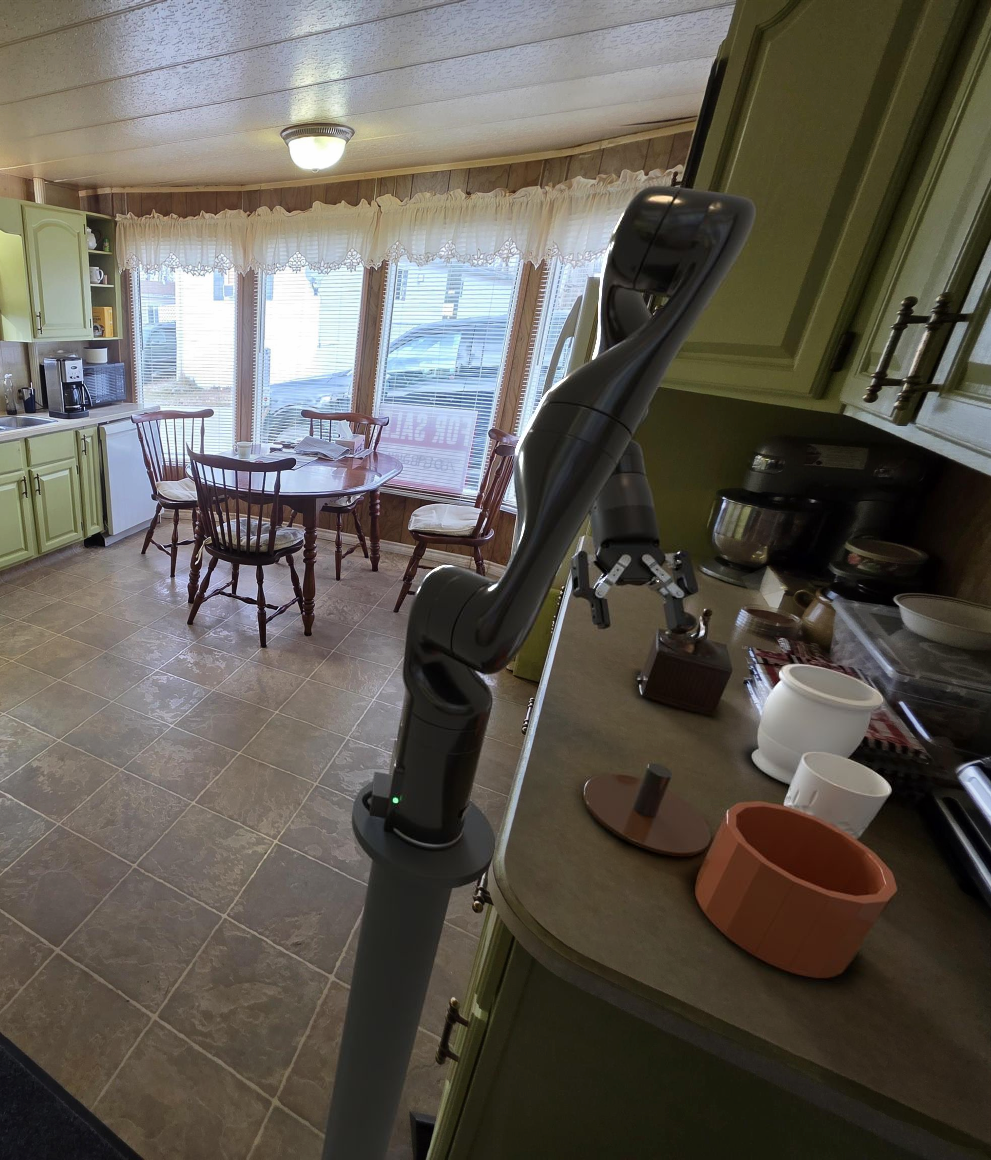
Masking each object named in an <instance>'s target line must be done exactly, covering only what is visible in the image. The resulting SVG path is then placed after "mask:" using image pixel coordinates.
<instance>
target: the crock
mask: <svg viewBox="0 0 991 1160" xmlns="http://www.w3.org/2000/svg"><path fill="white" fill-rule="evenodd" d="M897 892H898V887H897V884H896V879H895V876H894V873H893V872H892V870H891V869H890V868H889V867H888V866H887V865H886V864H885V862H884V861H882V859H881V858H880V857H879V856H878V855H877V853H875V852H874V851H873V850H872V849H870V848H869V847H868V846H866V845H864V844H863V843H862V842H861V841H859V840H858V839H855V838H854V837H852V836H851V835H849V834H848V833H846V832H844V831H842V830H840V829H838V828H837V827H835V826H833V825H831V824H829V823H827V822H825V821H823V820H821V819H819V818H817V817H815V816H812V815H809V814H806V813H804V812H801V811H798V810H795V809H792V808H790V807H787V806H784V804H783V805H782V804H776V803H773V802H766V801H760V800H754V801H741V802H737V803H735V804H734V805H733V806H731V807H730V808H729V809H727V810H726V812H725V814H724V817H723V819H722V821H721V823H720V826H719V828H718V830H717V832H716V835H715V836H714V838H713V841H712V843H711V845H710V847H709V849H708V851H707V854H706V856H705V858H704V859H703V863H702V865H701V867H700V869H699V871H698V874H697V875H696V881H695V884H694V893H695V898H696V900H697V902H698V905H699V907H700V908H701V910H702V912H703V913H704V915H705V916H706V917H707V918H708V920H709V921H710V922H711V923H712V924H713V925H714V926H715V927H716V928H717V930H719V931H720V932H721V933H722V934H723V935H724V936H726V938H728V940H731V942H733V943H734V944H736V945H737V946H738V947H739V948H741V949H743V950H744V951H746V952H747V953H749V954H750V955H752V956H754V957H755V958H757V959H759V960H761V961H763V962H765V963H767V964H769V965H771V966H774V967H776V968H778V969H780V970H783V971H786V972H789V973H791V974H795V975H799V976H802V977H807V978H812V979H813V978H815V979H830V978H834V977H837V976H839V975H841V974H842V973H844V972H845V971H846V969H847V968H848V966H850V965H851V963H852V962H853V960H854V959H855V958H856V956H857V955H858V953H859V951H860V949H861V948H862V946H863V945H864V943H865V942H866V940H867V938H868V937H869V935H870V934H871V933H872V931H873V929H874V927H875V926H876V925H877V923H878V922H879V920H880V918H881V917H882V915H883V914H884V912H885V911H886V909H887V908H888V906H889V904H890V903H891V901H892V900H893V899H894V897H895V895H896V893H897Z"/></svg>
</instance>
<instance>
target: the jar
mask: <svg viewBox="0 0 991 1160" xmlns="http://www.w3.org/2000/svg"><path fill="white" fill-rule="evenodd" d="M778 677H779V679H780V680H779V681H778V682H777V684H776V685H774V687H773V689H772V690H771V691H770V693H769V695H768V696H767V699H766V700H765V702H764V704H763V707H762V711H761V715H760V721H759V722H760V723H759V726H758V730H757V738H756V739H757V745H758V746H757V747H758V748H757V749H755V750H753V752H752V754H751V760H752V761H753V763H754V764H755V766H756V767H757V768H758V769H759V770H761V771H762V772H764V773H765V774H767V775H768V776H770V777H772V778H773V779H775V780H777V781H780V782H782V783H784V784H787V785H789V786H790V785H791V782H792V780H793V778H794V775H795V773H796V770H797V768H798V766H799V763H800V761H801V758H802V756H803V755H804V754H805V753H808V752H824V753H829V754H834V755H838V756H841V757H844V758H847V759H849V757H850V756H851V755H852V754H853V753H854V752H855V751H856V750H857V748H858V747H859V746H860V744H861V743H862V742H863V740H864V738H865V736H866V734H867V732H868V729H869V727H870V726H869V725H870V723H871V718H872V711H875V710H878V708H880V707H881V705H882V703H883V701H884V697H883V696H882V694H881V693H880V692H879V691H877V690H876V688H873V687H872V686H870V685H869V684H867V683H866V682H864V681H862V680H860V679H857V678H855V677H853V676H850V675H848V674H845V673H842V672H839V671H837V670H833V669H829V668H825V667H821V666H817V665H811V664H805V663H804V664H803V663H789V664H785V665H783V666H782V667H781V668H780V670H779V673H778Z"/></svg>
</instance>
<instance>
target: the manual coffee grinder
mask: <svg viewBox="0 0 991 1160" xmlns="http://www.w3.org/2000/svg"><path fill="white" fill-rule="evenodd" d="M684 612H685V617H686V621H685V624H683V626H682V628H680V629H677V630H668V629H663V628H658V629H657V630H656V631H655V635H654V637H653V640H652V643H651V645H650V648H649V651H648V654H647V656H646V660H645V663H644V665H643V668H642V669H641V670H640V674H639V675H637V677H636V681H637V683H638V686H639V692H640V695H641V697H642V698H645V699H648V700H651V701H653V702H656V703H659V704H662V705H665V706H669V707H672V708H676V709H679V710H683V711H687V712H690V713H693V714H698V715H703V716H706V717H713V716H714V713H715V711H716V709H717V707H718V705H719V703H720V701H721V699H722V696H723V694H724V693H725V690H726V687H727V684H728V683H729V680H730V678H731V676H732V673H733V665H732V662H731V656H730V653H729V649H728V645H727V644H725V643H721V642H717V641H714V640H710V639H707V638H708V635H709V625H710V622H711V616H712V615H713V610H712V609H711V608H704V609H702V615H700V616H699V618H698V620H697V617H695V615H693V613H689V612H687V611H684ZM698 621H699V622H698ZM698 623H699V624H698ZM696 627H697V628H696ZM694 629H696V630H695V633H691V632H692V631H693V630H694Z"/></svg>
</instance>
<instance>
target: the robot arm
mask: <svg viewBox="0 0 991 1160" xmlns="http://www.w3.org/2000/svg"><path fill="white" fill-rule="evenodd" d="M756 217H757V207H756V203H754V201H753V200H751V199H750V198H748V197H745V196H742V195H738V194H733V193H728V192H718V191H711V190H703V189H696V188H688V187H687V188H686V187H681V186H673V185H651V186H647V187H645V188H641V190H640V191H639V192H637V193H636V194H635V195H634V196H633V197H632V199H631V200H629V203H628V204H627V205H626V207H625V208H624V210H623V211H622V213H621V215H620V217H619V219H618V221H617V222H616V224H615V227H614V229H613V230H612V233H611V236H610V237H609V241H608V243H607V246H606V249H605V253H604V256H603V261H602V265H601V272H600V283H599V296H598V297H599V299H598V316H597V317H598V318H597V319H598V323H597V337H596V338H597V339H596V344H595V348H594V352H593V355H592V358H591V359H590V360H589V361H587V362H585V363H584V364H581V366H579V367H577V368H576V369H574V370H573V371H571V372H570V373H568V374H567V375H565V376H564V377H562V378H561V379H560V380H559V381H557V382H556V383H555V384H554V385H553V386H552V387H551V388H550V389H549V390H548V391H547V392H546V393H545V394H544V395H543V397H542V399H541V401H540V402H539V404H538V406H537V408H536V409H535V412H534V413H533V415H532V416H531V418H530V420H529V422H528V424H527V426H526V428H525V430H524V431H523V433H522V435H521V437H520V439H519V441H518V443H517V445H516V448H515V451H514V457H513V464H512V465H513V466H512V468H513V469H512V473H513V486H514V487H513V488H514V494H515V502H516V503H515V504H516V513H517V531H516V538H515V542H514V546H513V548H512V549H513V550H512V552H511V554H510V558H509V560H508V562H507V565H506V567H505V569H504V571H503V573H502V574H501V576H500V578H499V579H498V581H496V580H494V579H492V578H489V577H486V576H483V575H481V574H478V573H476V572H473V571H471V570H468V569H466V568H463V567H460V566H457V565H451V564H447V565H440V566H438V567H436V568H434V569H432V570H431V571H430V572H429V573H427V574H426V576H425V577H424V578H423V579H422V581H420V584H418V587H417V589H415V592H414V595H413V599H412V601H411V604H410V607H409V612H408V617H407V624H406V632H405V642H404V650H403V651H404V653H403V661H402V668H401V677H402V683H403V686H404V695H403V702H402V705H401V706H402V707H401V713H400V719H399V724H398V731H397V736H396V739H394V740H393V741H394V742H393V746H392V751H391V752H392V753H391V759H390V763H389V764H390V765H389V770H388V773H384V772H379V771H373V778H372V781H373V783H372V790H371V791H369V792H367V793H366V794H364V795H363V797H362V803H363V805H364V807H365V808H366V809H367V810H368V811H369V812H370V816H375V817H379V818H384V826H383V830H384V831H385V832H389V833H392V834H394V835H395V836H396V837H397V838H399V839H400V840H402V841H403V842H405V843H407V844H408V845H410V846H413V847H415V848H418V849H422V850H427V851H444V850H447V849H450V848H452V847H454V846H455V845H457V844H458V842H459V841H460V839H461V837H462V833H463V828H464V821H465V817H466V814H467V812H468V811H469V810H470V808H471V806H472V802H473V801H474V799H472V800H470V799H471V796H472V792H473V788H474V784H475V779H476V775H477V771H478V766H479V763H480V758H481V754H482V750H483V745H484V743H485V737H486V734H487V729H488V725H489V720H490V717H491V713H492V708H493V703H494V699H493V698H494V697H493V694H492V690H491V689H490V687H489V685H488V684H487V682H486V681H485V680H484V679H483V678H482V677H481V676H480V674H481V675H486V676H490V675H495V674H498V673H500V672H502V671H503V670H504V669H506V668H507V667H508V666H509V665H510V664H511V663H513V661H514V660H515V658H516V657H517V656H518V655H519V653H520V652H521V650H522V649H523V647H524V645H525V643H526V642H527V640H528V638H529V636H530V634H531V633H532V631H533V629H534V627H535V624H536V622H537V620H538V618H539V616H540V613H541V611H542V610H543V606H544V604H545V603H546V600H547V598H548V596H549V593H550V591H551V589H552V587H553V584H554V582H555V580H556V578H557V576H558V573H559V571H560V569H561V567H562V564H563V563H564V560H565V558H566V556H567V554H568V552H569V550H570V548H571V546H572V544H573V542H574V540H575V539H576V536H577V534H578V533H579V532H580V529H581V527H582V526H583V524H584V522H585V520H586V519H587V517H588V516H589V522H590V528H591V535H592V536H591V537H592V543H593V548H594V550H595V551H594V553H588V552H586V551H585V550H579V551H578V552H577V553H575V554H574V555H573V556H572V557H571V558H570V570H571V571H570V572H571V588H572V589H571V591H572V595H573V597H574V598H576V599H579V598H580V599H581V598H582V599H584V600H586V601H588V603H589V607H590V614H591V615H590V616H591V622H592V623H593V625H594V626H597V629H598V630H606V629H608V628H610V627H611V618H610V610H609V603H608V598H605V596H606V595H607V593H608V592H609V591H610V589H611V588H612V586H614V585H616V587H623V586H627V585H630V586H635V587H642V586H644V585H645V586H646V587H647V588H648V589H649V590H650V591H652V592H654V593H656V594H657V595H658V596H659V597H660V598H661V599H662V600H664V602H662V604H663V611H664V617H665V623H666V628H667V630H668V631H669V630H677V629H680V628H682V626H683V624H685V621H686V617H685V612H686V611H685V607H684V599H686V598H688V597H690V596H692V595H695V594H697V593H698V592H699V586H698V582H697V577H696V573H695V570H694V567H693V562H692V559H691V555H690V552H689V551H688V550H687V549H686V550H685V549H682V550H680V551H678V552H669V553H665V552H664V551H663V550H662V548H661V547H660V543H661V537H660V532H659V526H658V519H657V514H656V509H655V502H654V498H653V492H652V489H651V486H650V483H649V481H648V476H647V471H646V470H647V469H646V464H645V459H644V454H643V449H642V446H641V444H640V443H639V442H638V441H637V440H634V439H633V438H634V436H635V434H636V432H637V431H638V428H639V426H640V425H641V424H643V423H644V422H645V421H646V419H647V417H648V414H649V410H650V405H651V403H652V401H653V398H654V397H655V395H656V393H657V392H658V390H659V387H660V386H661V384H662V382H663V381H664V379H665V376H666V374H667V372H668V371H669V369H670V367H671V365H672V364H673V362H674V361H675V359H676V357H677V355H678V353H679V351H680V350H681V349H682V347H683V345H684V344H685V343H686V341H687V339H688V337H689V336H690V334H691V333H692V331H693V330H694V328H695V326H696V325H697V324H698V321H699V320H700V319H701V318H702V315H703V314H704V312H705V311H706V309H708V306H709V305H710V304H711V302H712V300H713V298H714V297H715V295H716V294H717V292H718V290H719V289H720V287H721V286H722V284H723V283H724V281H725V279H726V278H727V277H728V275H729V273H730V272H731V270H732V269H733V267H734V265H735V263H736V262H737V260H738V258H739V257H740V255H741V253H742V251H743V250H744V248H745V246H746V244H747V242H748V239H749V237H750V235H751V233H752V230H753V228H754V224H755V221H756ZM643 294H644V295H645V294H646V295H651V296H656V297H660V298H665V299H666V298H667V300H666V302H665V303H663V305H662V306H661V307H660V308H659V309H658V310H657V311H656V312H655V313H654V314H653V315H652V313H651V311H650V309H649V307H648V306H647V303H646V302H645V299H644V297H643ZM664 564H666V566H667V569H668V570H671V574H672V576H671V575H670V573H668V572H666V571H665V569H664V568H663V566H664ZM593 565H594V566H595V568H597V569H598V570H599V571H600V572H601V575H600V577H599V578H598V579H597V581H596V582H595V584H594V586H593V587H591V586H590V584H591V583H590V572H589V569H590V568H592V566H593ZM479 673H480V674H479ZM369 798H371V802H370V804H369V803H368V799H369ZM469 800H470V801H471V803H470V804H469ZM473 803H474V802H473ZM468 804H469V805H468Z"/></svg>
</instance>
